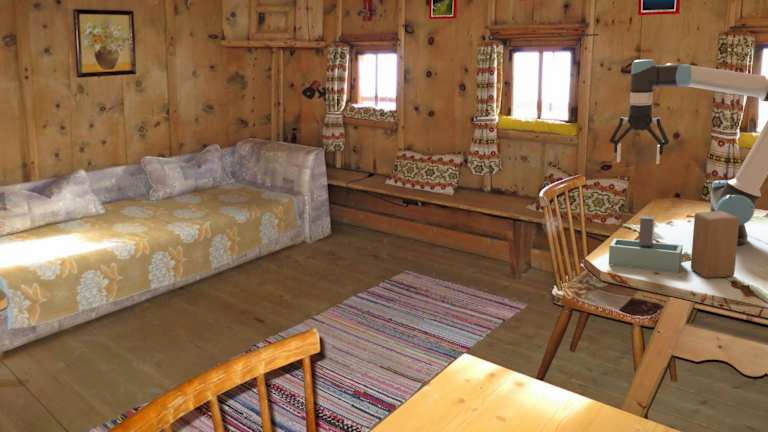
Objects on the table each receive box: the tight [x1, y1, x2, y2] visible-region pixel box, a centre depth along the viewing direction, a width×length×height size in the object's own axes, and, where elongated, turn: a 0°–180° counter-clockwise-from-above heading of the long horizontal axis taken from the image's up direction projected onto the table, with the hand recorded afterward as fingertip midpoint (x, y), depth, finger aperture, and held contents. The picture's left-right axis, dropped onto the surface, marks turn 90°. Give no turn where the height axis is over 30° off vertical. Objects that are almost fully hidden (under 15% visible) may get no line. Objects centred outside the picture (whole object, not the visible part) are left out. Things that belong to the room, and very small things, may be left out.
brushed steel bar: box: [638, 214, 656, 249], centre depth 226 cm, size 4×4×16 cm
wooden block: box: [690, 211, 739, 279], centre depth 215 cm, size 10×10×20 cm
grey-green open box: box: [608, 238, 684, 273], centre depth 228 cm, size 22×9×7 cm, turn 61°
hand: (637, 162), depth 241 cm, fingers open, 13 cm apart
